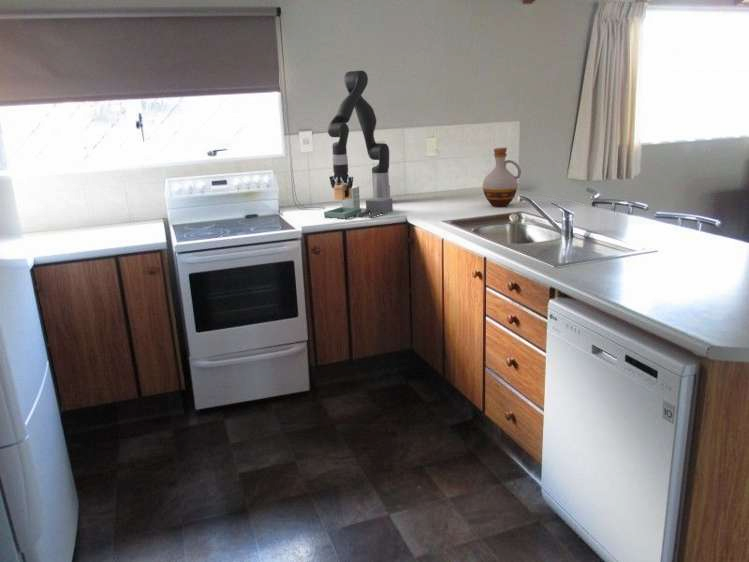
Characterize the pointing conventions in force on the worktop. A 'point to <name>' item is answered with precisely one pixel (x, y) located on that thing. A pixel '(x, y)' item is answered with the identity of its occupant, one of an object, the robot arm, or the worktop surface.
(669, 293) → the worktop surface
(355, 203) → the supplement box
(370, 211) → the printer bay
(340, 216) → the tray
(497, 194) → the jug
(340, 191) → the toner caddy
